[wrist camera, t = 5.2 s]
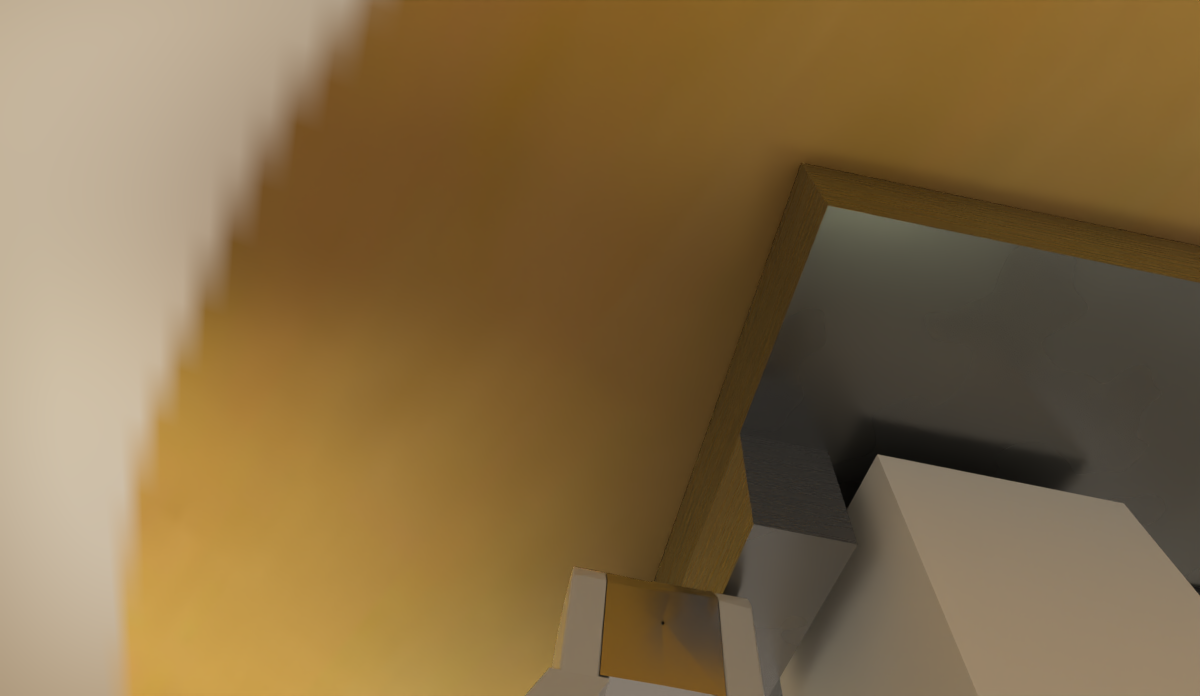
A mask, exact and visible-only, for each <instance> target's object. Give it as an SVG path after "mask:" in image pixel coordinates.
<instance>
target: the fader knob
mask: <svg viewBox="0 0 1200 696" xmlns="http://www.w3.org/2000/svg"><path fill="white" fill-rule="evenodd" d="M847 513H848V516H849V519H850V522H851V525H852V528H853V531H854V534H855V537H856V541H857V544H858V545H857V547H856V549H855V550H854V552H853V554H852V556H851V557H850V559H849V561H848V562H847V564H846V566H845V567H844V569H843V571H842V573H841V574H840V576H839V578H838V579H837V581H836V583H835V584H834V586H833V588H832V590H831V591H830V593H829V595H828V596H827V598H826V600H825V602H824V603H823V605H822V607H821V608H820V610H819V612H818V613H817V615H816V617H815V619H814V620H813V622H812V624H811V625H810V627H809V629H808V630H807V632H806V634H805V636H804V637H803V639H802V641H801V642H800V644H799V646H798V647H797V649H796V651H795V653H794V654H793V656H792V658H791V659H790V661H789V663H788V665H787V666H786V668H785V670H784V671H783V673H782V675H781V676H780V683H781V690H782V696H1200V595H1199V594H1198V593H1197V592H1196V591H1195V589H1194V588H1193V587H1192V586H1191V584H1190V583H1189V582H1188V581H1187V580H1186V578H1185V577H1184V576H1183V575H1182V574H1181V572H1180V571H1179V570H1178V569H1177V567H1176V566H1175V565H1174V564H1173V563H1172V561H1171V560H1170V559H1169V558H1168V557H1167V555H1166V554H1165V553H1164V552H1163V550H1162V549H1161V548H1160V547H1159V546H1158V544H1157V543H1156V542H1155V541H1154V540H1153V538H1152V537H1151V536H1150V535H1149V533H1148V532H1147V531H1146V530H1145V529H1144V527H1143V526H1142V525H1141V524H1140V523H1139V521H1138V520H1137V519H1136V518H1135V516H1134V515H1133V514H1132V513H1131V512H1130V510H1129V509H1128V508H1127V507H1126V506H1125V504H1124V503H1119V502H1114V501H1109V500H1104V499H1099V498H1094V497H1089V496H1084V495H1079V494H1074V493H1069V492H1064V491H1059V490H1054V489H1049V488H1044V487H1039V486H1034V485H1029V484H1024V483H1019V482H1014V481H1009V480H1004V479H999V478H994V477H989V476H984V475H979V474H974V473H969V472H964V471H959V470H954V469H949V468H944V467H939V466H934V465H929V464H924V463H919V462H914V461H909V460H904V459H899V458H894V457H889V456H884V455H879V454H877V456H876V457H875V459H874V461H873V463H872V465H871V467H870V468H869V470H868V472H867V474H866V476H865V477H864V479H863V481H862V483H861V485H860V487H859V488H858V490H857V492H856V494H855V496H854V497H853V499H852V501H851V503H850V505H849V507H848V508H847Z"/></svg>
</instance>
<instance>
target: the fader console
mask: <svg viewBox="0 0 1200 696" xmlns="http://www.w3.org/2000/svg"><path fill="white" fill-rule="evenodd" d="M877 454H879V455H884V456H889V457H894V458H899V459H904V460H909V461H914V462H919V463H924V464H929V465H934V466H939V467H944V468H949V469H954V470H959V471H964V472H969V473H974V474H979V475H984V476H989V477H994V478H999V479H1004V480H1009V481H1014V482H1019V483H1024V484H1029V485H1034V486H1039V487H1044V488H1049V489H1054V490H1059V491H1064V492H1069V493H1074V494H1079V495H1084V496H1089V497H1094V498H1099V499H1104V500H1109V501H1114V502H1119V503H1124V504H1125V506H1126V507H1127V508H1128V509H1129V510H1130V512H1131V513H1132V514H1133V515H1134V516H1135V518H1136V519H1137V520H1138V521H1139V523H1140V524H1141V525H1142V526H1143V527H1144V529H1145V530H1146V531H1147V532H1148V533H1149V535H1150V536H1151V537H1152V538H1153V540H1154V541H1155V542H1156V543H1157V544H1158V546H1159V547H1160V548H1161V549H1162V550H1163V552H1164V553H1165V554H1166V555H1167V557H1168V558H1169V559H1170V560H1171V561H1172V563H1173V564H1174V565H1175V566H1176V567H1177V569H1178V570H1179V571H1180V572H1181V574H1182V575H1183V576H1184V577H1185V578H1186V580H1187V581H1188V582H1189V583H1190V584H1191V586H1192V587H1193V588H1194V589H1195V591H1196V592H1197V593H1198V594H1199V595H1200V246H1195V245H1190V244H1186V243H1181V242H1176V241H1171V240H1166V239H1162V238H1157V237H1152V236H1147V235H1143V234H1138V233H1133V232H1128V231H1124V230H1119V229H1114V228H1109V227H1104V226H1100V225H1095V224H1090V223H1085V222H1081V221H1076V220H1071V219H1066V218H1061V217H1057V216H1052V215H1047V214H1042V213H1038V212H1033V211H1028V210H1023V209H1018V208H1014V207H1009V206H1004V205H999V204H995V203H990V202H985V201H980V200H976V199H971V198H966V197H961V196H956V195H952V194H947V193H942V192H937V191H933V190H928V189H923V188H918V187H913V186H909V185H904V184H899V183H894V182H890V181H885V180H880V179H875V178H871V177H866V176H861V175H856V174H851V173H847V172H842V171H837V170H832V169H828V168H823V167H818V166H813V165H808V164H804V163H801V166H800V168H799V171H798V174H797V177H796V180H795V183H794V185H793V188H792V191H791V194H790V197H789V200H788V203H787V205H786V208H785V211H784V214H783V217H782V220H781V222H780V225H779V228H778V231H777V234H776V237H775V239H774V242H773V245H772V248H771V251H770V254H769V257H768V259H767V262H766V265H765V268H764V271H763V274H762V276H761V279H760V282H759V285H758V288H757V291H756V294H755V296H754V299H753V302H752V305H751V308H750V311H749V313H748V316H747V319H746V322H745V325H744V328H743V330H742V333H741V336H740V339H739V342H738V345H737V348H736V350H735V353H734V356H733V359H732V362H731V365H730V367H729V370H728V373H727V376H726V379H725V382H724V384H723V387H722V390H721V393H720V396H719V399H718V402H717V404H716V407H715V410H714V413H713V416H712V419H711V421H710V424H709V427H708V430H707V433H706V436H705V439H704V441H703V444H702V447H701V450H700V453H699V456H698V458H697V461H696V464H695V467H694V470H693V473H692V475H691V478H690V481H689V484H688V487H687V490H686V493H685V495H684V498H683V501H682V504H681V507H680V510H679V512H678V515H677V518H676V521H675V524H674V527H673V530H672V532H671V535H670V538H669V541H668V544H667V547H666V549H665V552H664V555H663V558H662V561H661V564H660V566H659V569H658V572H657V575H656V578H655V581H654V582H659V583H665V584H670V585H676V586H682V587H688V588H694V589H700V590H706V591H712V592H713V593H718V594H724V595H730V596H735V597H741V598H746V599H748V600H749V602H750V604H751V606H752V613H753V620H754V627H755V634H756V641H757V648H758V654H759V661H760V668H761V675H762V682H763V689H764V696H782V690H781V683H780V676H781V675H782V673H783V671H784V670H785V668H786V666H787V665H788V663H789V661H790V659H791V658H792V656H793V654H794V653H795V651H796V649H797V647H798V646H799V644H800V642H801V641H802V639H803V637H804V636H805V634H806V632H807V630H808V629H809V627H810V625H811V624H812V622H813V620H814V619H815V617H816V615H817V613H818V612H819V610H820V608H821V607H822V605H823V603H824V602H825V600H826V598H827V596H828V595H829V593H830V591H831V590H832V588H833V586H834V584H835V583H836V581H837V579H838V578H839V576H840V574H841V573H842V571H843V569H844V567H845V566H846V564H847V562H848V561H849V559H850V557H851V556H852V554H853V552H854V550H855V549H856V547H857V545H858V544H857V541H856V537H855V534H854V531H853V528H852V525H851V522H850V519H849V516H848V513H847V508H848V507H849V505H850V503H851V501H852V499H853V497H854V496H855V494H856V492H857V490H858V488H859V487H860V485H861V483H862V481H863V479H864V477H865V476H866V474H867V472H868V470H869V468H870V467H871V465H872V463H873V461H874V459H875V457H876V456H877Z"/></svg>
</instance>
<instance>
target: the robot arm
mask: <svg viewBox="0 0 1200 696" xmlns="http://www.w3.org/2000/svg"><path fill="white" fill-rule="evenodd" d="M525 696H764V689H763V682H762V675H761V668H760V661H759V654H758V648H757V641H756V634H755V627H754V620H753V613H752V606H751V604H750V602H749V600H748V599H746V598H741V597H735V596H730V595H724V594H718V593H713V592H712V591H706V590H700V589H694V588H688V587H682V586H676V585H670V584H665V583H659V582H653V581H651V582H648V581H643V580H638V579H634V578H629V577H624V576H620V575H615V574H610V573H605V572H600V571H595V570H590V569H585V568H579V567H573V569H572V572H571V576H570V580H569V585H568V589H567V593H566V597H565V601H564V605H563V609H562V614H561V619H560V624H559V629H558V634H557V639H556V644H555V651H554V657H553V664H552V668H548V670H547V671H546V672H545V673H544V674H543V675H542V677H541V678H540V679H539V680H538V681H537V682H536V683H535V685H534V686H533V687H532V688H531V689H530V690H529V691H528V693H527V694H526V695H525Z"/></svg>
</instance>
